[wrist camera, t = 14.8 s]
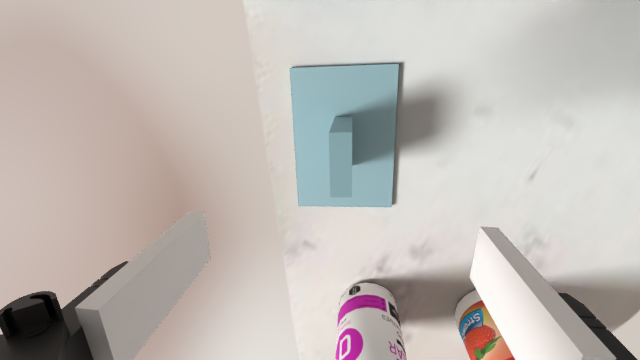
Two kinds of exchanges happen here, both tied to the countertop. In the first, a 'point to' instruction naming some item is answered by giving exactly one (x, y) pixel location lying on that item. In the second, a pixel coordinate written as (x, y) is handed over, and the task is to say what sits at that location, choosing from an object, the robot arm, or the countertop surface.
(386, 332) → the supplement can
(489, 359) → the fruit juice
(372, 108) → the lid
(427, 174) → the countertop surface
